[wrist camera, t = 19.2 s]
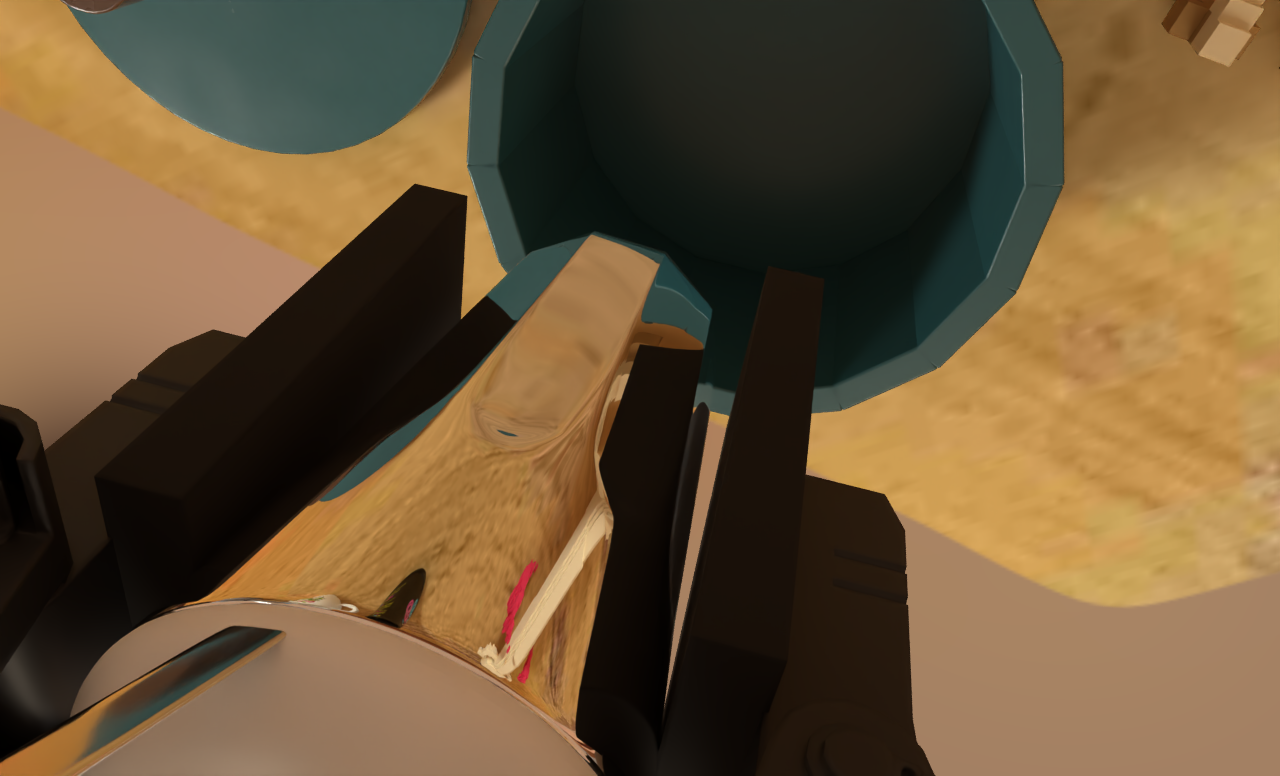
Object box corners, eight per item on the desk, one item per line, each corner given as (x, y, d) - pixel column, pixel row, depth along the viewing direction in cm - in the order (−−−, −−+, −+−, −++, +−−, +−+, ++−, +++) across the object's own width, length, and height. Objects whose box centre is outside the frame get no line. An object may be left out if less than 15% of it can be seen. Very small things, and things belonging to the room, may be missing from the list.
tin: (583, -227, 27) (486, -224, 21) (1100, -126, 26) (1183, -87, 19) (536, 235, 36) (455, 349, 29) (926, 327, 35) (940, 469, 28)
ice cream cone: (760, 118, 12) (439, 910, 4) (769, 468, 15) (602, 1364, 6) (422, 127, 13) (-421, 753, 5) (491, 451, 16) (41, 1198, 7)
